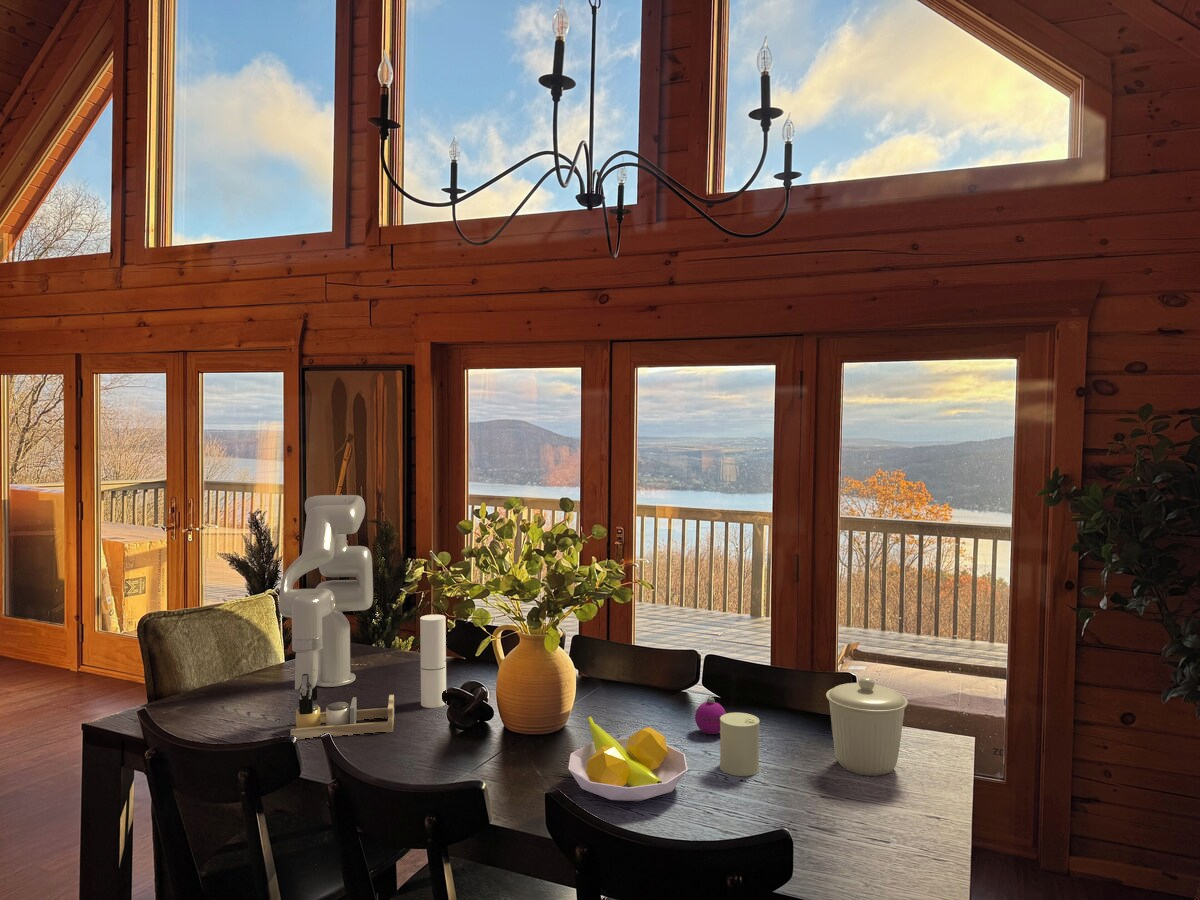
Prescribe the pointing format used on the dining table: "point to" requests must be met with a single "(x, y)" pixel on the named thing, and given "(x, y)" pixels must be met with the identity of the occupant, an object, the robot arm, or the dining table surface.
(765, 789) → the dining table surface
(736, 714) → the can
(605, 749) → the fruit bowl
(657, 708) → the dining table surface
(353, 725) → the lane
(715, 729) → the christmas ornament
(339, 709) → the cream jar
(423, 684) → the cylindrical container
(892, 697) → the canister
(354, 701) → the pusher
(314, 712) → the amber jar
